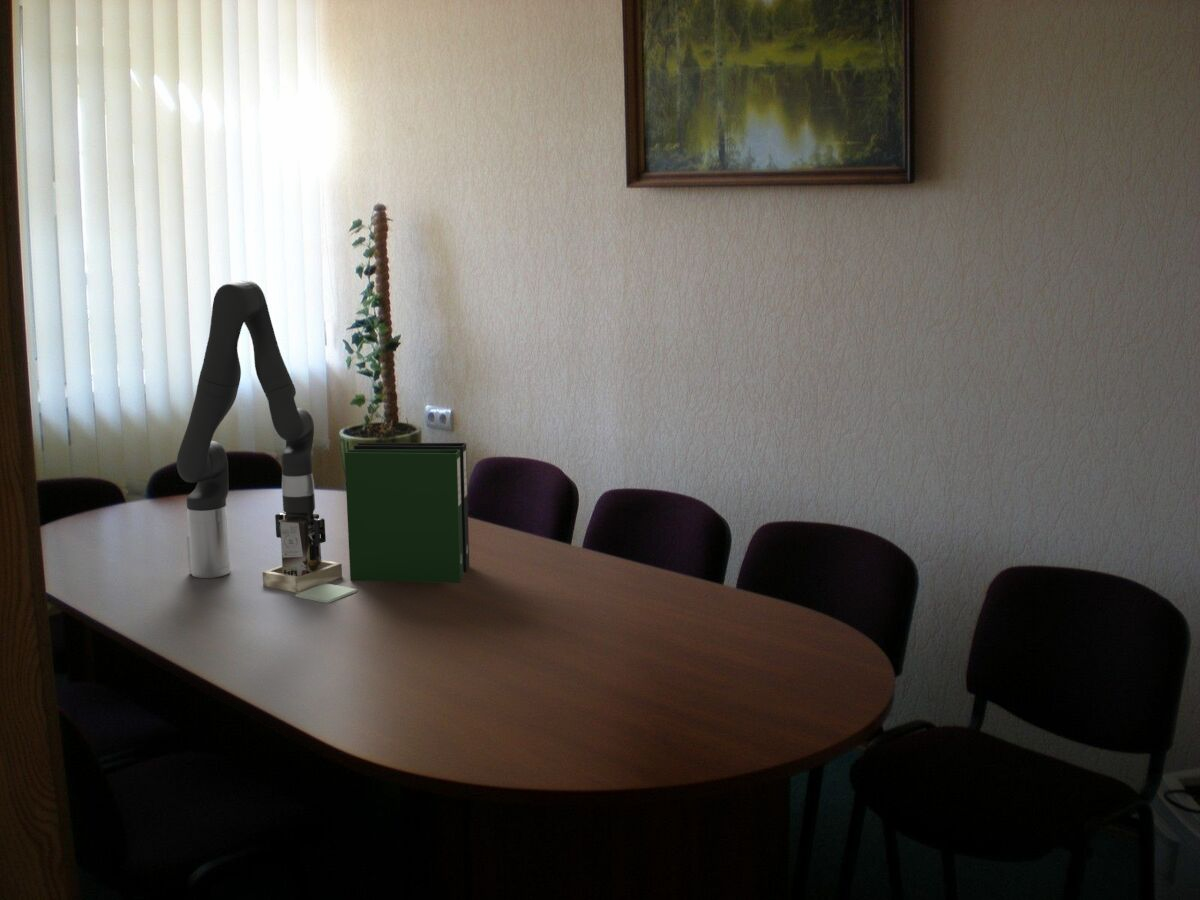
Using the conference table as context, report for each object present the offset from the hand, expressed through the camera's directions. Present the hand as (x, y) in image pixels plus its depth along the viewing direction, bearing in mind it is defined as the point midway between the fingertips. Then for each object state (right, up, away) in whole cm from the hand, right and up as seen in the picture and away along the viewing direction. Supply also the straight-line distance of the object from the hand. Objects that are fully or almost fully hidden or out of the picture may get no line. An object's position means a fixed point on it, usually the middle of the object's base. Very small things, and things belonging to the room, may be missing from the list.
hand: (301, 557), depth 288 cm
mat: (+8, -8, -9) cm, 14 cm away
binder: (+25, -5, +8) cm, 27 cm away
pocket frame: (0, -6, +1) cm, 6 cm away
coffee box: (0, -6, +1) cm, 6 cm away
